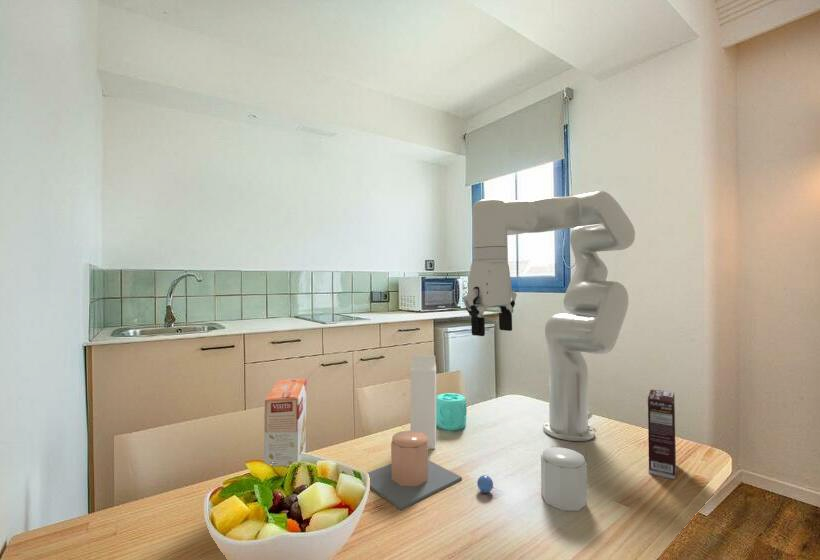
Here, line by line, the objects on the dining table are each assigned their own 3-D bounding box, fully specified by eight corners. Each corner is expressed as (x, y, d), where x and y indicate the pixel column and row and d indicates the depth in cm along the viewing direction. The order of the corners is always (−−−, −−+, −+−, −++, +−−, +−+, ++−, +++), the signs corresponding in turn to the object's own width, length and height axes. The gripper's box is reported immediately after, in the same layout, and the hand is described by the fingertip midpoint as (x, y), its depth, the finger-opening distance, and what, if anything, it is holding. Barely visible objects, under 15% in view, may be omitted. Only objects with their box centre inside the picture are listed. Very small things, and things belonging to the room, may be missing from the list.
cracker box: (299, 522, 65) (299, 397, 65) (261, 525, 64) (261, 399, 64) (307, 479, 78) (307, 377, 79) (276, 482, 77) (276, 378, 78)
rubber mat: (416, 455, 89) (416, 453, 89) (461, 479, 78) (461, 477, 78) (357, 479, 79) (357, 476, 79) (400, 509, 68) (400, 507, 68)
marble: (484, 485, 76) (483, 470, 76) (496, 492, 74) (496, 476, 74) (474, 491, 74) (474, 475, 74) (486, 497, 72) (486, 481, 72)
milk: (435, 449, 93) (435, 357, 92) (410, 448, 93) (410, 357, 93) (436, 439, 99) (436, 353, 99) (413, 437, 99) (413, 352, 99)
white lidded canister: (555, 484, 76) (555, 444, 76) (592, 500, 71) (592, 456, 71) (535, 497, 72) (534, 454, 72) (573, 515, 66) (572, 469, 66)
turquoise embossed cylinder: (466, 421, 111) (466, 393, 111) (463, 432, 103) (463, 402, 103) (439, 419, 113) (439, 392, 113) (434, 429, 105) (434, 400, 105)
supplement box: (650, 458, 87) (649, 388, 88) (676, 464, 85) (675, 392, 85) (647, 473, 80) (647, 397, 81) (675, 480, 78) (675, 402, 78)
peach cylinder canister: (411, 464, 84) (411, 427, 84) (435, 477, 78) (435, 438, 78) (385, 475, 79) (384, 436, 79) (407, 490, 73) (407, 448, 73)
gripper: (500, 257, 94) (502, 327, 94) (451, 256, 83) (453, 335, 83) (527, 255, 88) (529, 329, 89) (478, 254, 77) (480, 339, 77)
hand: (492, 332), depth 86 cm, fingers open, 9 cm apart
